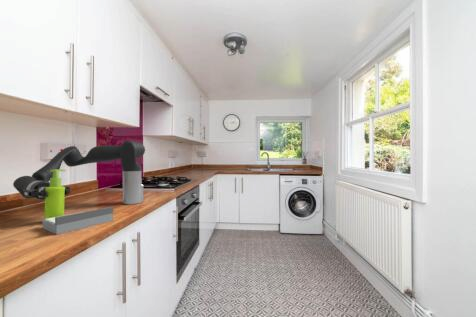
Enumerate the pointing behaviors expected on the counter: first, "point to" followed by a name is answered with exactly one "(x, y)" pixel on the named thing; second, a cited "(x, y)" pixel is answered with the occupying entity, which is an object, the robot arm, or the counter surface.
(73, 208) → the counter surface
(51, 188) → the soap dispenser
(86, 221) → the dock
